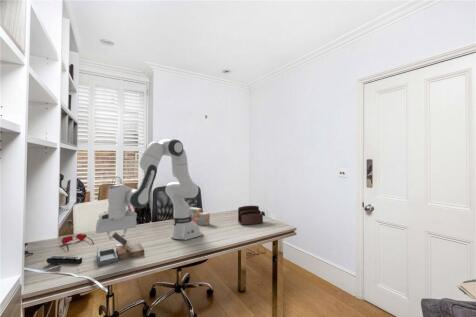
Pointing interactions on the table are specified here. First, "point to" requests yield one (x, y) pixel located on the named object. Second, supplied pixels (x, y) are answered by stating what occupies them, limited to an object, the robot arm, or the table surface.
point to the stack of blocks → (199, 216)
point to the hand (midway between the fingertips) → (116, 238)
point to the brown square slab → (132, 252)
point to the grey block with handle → (122, 241)
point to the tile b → (121, 250)
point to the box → (106, 256)
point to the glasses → (67, 239)
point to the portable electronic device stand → (64, 260)
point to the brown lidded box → (249, 215)
